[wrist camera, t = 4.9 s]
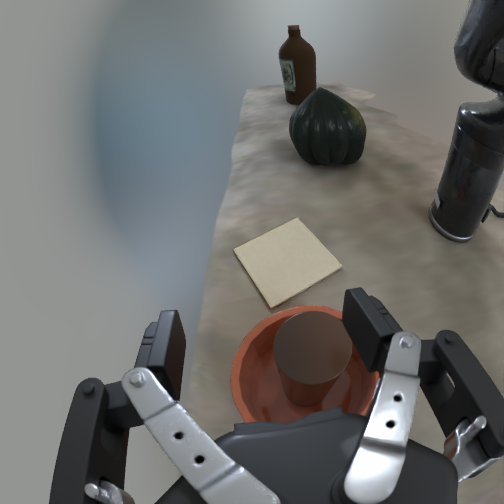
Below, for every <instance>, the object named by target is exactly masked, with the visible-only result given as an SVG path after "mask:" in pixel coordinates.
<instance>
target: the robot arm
mask: <svg viewBox="0 0 504 504" xmlns="http://www.w3.org/2000/svg"><path fill="white" fill-rule="evenodd" d="M454 56H455V61H456V65H457V67H458V69H459V71H460V72H461V74H462V75H463V76H464V77H466V78H467V79H468V80H470V81H472V82H473V83H475V84H478V85H480V86H482V87H484V88H487V89H489V90H491V91H493V92H495V93H497V94H498V95H497V97H496V98H495V99H493V100H491V101H488V102H481V103H472V102H471V103H469V102H467V103H463V104H461V106H460V107H459V110H458V114H457V119H456V124H455V129H454V133H453V137H452V142H451V146H450V149H449V153H448V157H447V160H446V164H445V167H444V171H443V174H442V177H441V180H440V183H439V186H438V189H437V190H436V189H435V192H434V201H433V203H432V205H431V207H430V211H429V215H430V219H431V222H432V223H433V225H434V226H435V228H436V229H437V230H438V231H439V232H440V233H441V234H442V235H444V236H445V237H447V238H449V239H451V240H453V241H457V242H467V241H469V240H471V239H472V237H473V236H474V234H475V232H476V229H477V227H478V225H479V223H480V222H482V223H483V222H484V221H485V220H486V219H487V217H488V215H489V213H490V211H491V210H492V212H493V213H494V214H495V215H496V216H498V217H504V213H500V212H497V211H496V209H495V208H494V206H493V205H491V204H490V202H491V199H492V197H493V195H494V193H495V191H496V188H497V186H498V184H499V181H500V179H501V176H502V174H503V171H504V0H469V2H468V5H467V7H466V9H465V12H464V14H463V16H462V19H461V21H460V24H459V27H458V30H457V33H456V38H455V44H454ZM342 321H343V325H344V328H345V329H346V331H347V333H348V335H349V337H350V339H351V340H352V342H353V344H354V346H355V348H356V350H357V352H358V353H359V355H360V357H361V359H362V361H363V363H364V365H365V367H366V369H367V370H368V372H369V374H370V373H373V372H377V371H378V373H379V377H378V380H377V383H376V386H375V389H374V392H373V395H372V398H371V401H370V404H369V407H368V409H367V412H366V414H365V416H364V415H360V414H355V413H344V411H343V409H342V406H340V407H336V408H332V409H327V410H323V411H319V412H315V413H313V414H311V415H309V416H306V417H304V418H302V419H299V420H297V421H294V422H292V423H280V422H265V421H259V422H250V423H239V424H234V426H235V431H233V432H230V433H227V434H225V435H223V436H221V437H219V438H218V439H216V440H215V441H213V440H212V439H211V438H210V437H209V436H208V435H207V434H206V433H205V432H204V431H203V429H202V428H201V427H200V426H199V425H198V424H197V423H196V422H195V421H194V420H193V419H192V417H191V416H190V415H189V414H188V413H187V412H186V411H185V410H184V408H183V407H182V406H181V405H180V404H179V403H178V402H177V401H178V400H180V391H181V383H182V374H183V365H184V357H185V349H186V339H185V334H184V330H183V327H182V323H181V320H180V317H179V313H178V311H177V310H169V311H168V310H167V311H161V313H160V316H159V320H158V322H152V323H151V324H150V325H149V326H148V327H147V328H146V330H145V333H144V336H143V339H142V343H141V346H140V349H139V353H138V356H137V359H136V363H135V366H134V368H133V369H131V370H129V371H128V372H126V373H125V374H124V376H123V378H122V381H119V382H116V383H111V384H106V385H104V384H103V383H102V382H101V380H99V379H97V378H88V379H86V380H84V381H82V382H81V383H80V384H79V385H78V386H77V388H76V391H75V394H74V397H73V400H72V403H71V407H70V410H69V413H68V417H67V420H66V424H65V427H64V431H63V435H62V439H61V442H60V446H59V451H58V456H57V460H56V465H55V469H54V475H53V481H52V486H51V493H50V500H49V504H135V503H134V500H133V498H132V497H131V496H130V495H129V494H128V493H127V492H125V491H124V480H125V467H126V456H127V446H128V438H129V429H130V428H131V427H136V426H140V425H144V424H145V426H146V427H147V429H148V430H149V432H150V433H151V434H152V436H153V437H154V439H155V440H156V441H157V443H158V444H159V446H160V447H161V448H162V450H163V451H164V452H165V454H166V455H167V456H168V458H169V459H170V460H171V461H172V463H173V464H174V465H175V466H176V468H177V469H178V470H179V471H180V473H181V474H182V476H181V477H180V478H179V479H178V480H177V481H176V482H175V483H174V484H173V485H172V486H171V487H170V488H169V490H168V491H167V492H166V493H165V494H164V495H163V496H162V497H161V498H160V499H159V500H158V501H157V502H156V503H154V504H457V489H458V483H459V482H461V481H463V480H464V479H466V478H472V477H475V476H476V475H478V474H479V473H481V472H482V471H484V470H485V469H486V468H488V467H489V466H490V465H492V464H493V463H494V462H496V461H497V460H498V459H499V458H501V457H502V456H503V455H504V398H503V396H502V395H501V393H500V392H499V390H498V389H497V387H496V386H495V384H494V383H493V381H492V380H491V378H490V377H489V375H488V374H487V372H486V371H485V370H484V368H483V367H482V365H481V364H480V363H479V361H478V360H477V358H476V357H475V356H474V354H473V353H472V352H471V350H470V349H469V348H468V346H467V345H466V344H465V342H464V341H463V340H462V339H461V337H460V336H459V335H458V334H457V333H455V332H453V331H450V330H442V331H440V332H439V333H438V334H437V336H436V338H435V340H420V338H419V337H418V336H417V335H416V334H414V333H412V332H409V331H403V330H402V328H401V327H400V326H399V324H398V323H397V322H396V321H395V319H394V318H393V317H392V315H391V314H389V311H388V310H387V309H386V308H385V306H384V305H383V304H382V303H381V301H380V300H378V299H377V298H375V297H373V296H372V295H371V296H368V295H367V294H366V292H365V291H364V290H363V289H362V288H361V287H359V288H354V289H348V290H346V291H345V297H344V305H343V312H342ZM447 372H448V374H449V375H450V377H451V378H452V380H453V382H454V385H455V388H454V386H453V385H452V383H451V381H450V380H449V378H448V376H447V375H446V374H447ZM419 385H420V387H421V389H422V391H423V392H424V394H425V396H426V398H427V400H428V402H429V404H430V406H431V408H432V410H433V412H434V414H435V416H436V418H437V420H438V422H439V424H440V426H441V428H442V430H443V433H444V435H445V437H446V440H445V443H444V453H443V454H441V453H438V452H436V451H434V450H432V449H430V448H428V447H425V446H423V445H421V444H419V443H417V442H415V441H413V440H411V439H409V438H408V437H409V433H410V429H411V425H412V421H413V417H414V412H415V407H416V402H417V397H418V391H419ZM175 401H176V402H175Z"/></svg>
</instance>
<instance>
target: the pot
mask: <svg viewBox="0 0 504 504" xmlns="http://www.w3.org/2000/svg"><path fill="white" fill-rule="evenodd" d="M305 311H322V312H326V313H329V314H331V315H333V316H335V317H336V318H338V319H339V320H340V321H341V322H342V323H343V321H342V311H338V310H335V309H332V308H329V307H326V306H298V307H294V308H290V309H286V310H282V311H279V312H277V313H275V314H274V315H272V316H270V317H268V318H266V319H265V320H263V321H261V322H260V323H259V324H258V325H257V326H256V327H255V328H254V329H253V330H252V331H251V332H250V333H249V334H248V335H247V336H246V337H245V338H244V340H243V342H242V344H241V345H240V347H239V349H238V351H237V353H236V355H235V357H234V361H233V366H232V372H231V377H230V382H231V388H232V395H233V401H234V403H235V405H236V407H237V409H238V411H239V412H240V414H241V416H242V418H243V420H244V421H245V423H250V422H259V421H265V422H280V423H292V422H294V421H297V420H299V419H302V418H304V417H306V416H309V415H311V414H313V413H315V412H319V411H323V410H327V409H332V408H336V407H340V406H342V409H343V411H344V413H355V414H360V415H364V416H365V414H366V412H367V409H368V407H369V404H370V401H371V398H372V395H373V392H374V389H375V386H376V383H377V380H378V377H379V373H378V371H377V372H373V373H370V374H369V372H368V370H367V369H366V367H365V365H364V363H363V361H362V359H361V357H360V355H359V353H358V352H357V350H356V348H355V346H354V344H353V342H352V353H351V357H350V360H349V362H348V364H347V366H346V367H345V369H344V370H343V372H342V373H341V375H340V376H339V378H338V379H337V381H336V382H335V384H334V385H333V387H332V388H331V389H330V391H329V392H328V393H327V395H326V396H325V398H324V399H323V400H322V401H321V402H319V403H318V404H316V405H313V406H309V407H302V406H298V405H296V404H294V403H292V402H291V401H290V400H289V399H288V398H287V396H286V394H285V391H284V388H283V384H282V381H281V378H280V375H279V372H278V368H277V365H276V362H275V359H274V354H273V343H274V338H275V336H276V333H277V331H278V330H279V328H280V327H281V325H282V324H283V323H284V322H285V321H287V320H288V319H289V318H291V317H292V316H294V315H296V314H298V313H301V312H305Z"/></svg>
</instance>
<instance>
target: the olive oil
mask: <svg viewBox="0 0 504 504" xmlns="http://www.w3.org/2000/svg"><path fill="white" fill-rule="evenodd" d="M288 34H289V38H288V39H287V40H286V41H285V43H284V44H283V45H282V46H281V47H280V50H279V60H280V65H281V71H282V76H283V81H284V88H285V94H286V100H287V101H288V102H289V103H292V104H301V103H302V102H303V101H304V100H305V99H306V98H307V97H308V96H309V95H310V94H311V93H312V92H313V91H314V90H316V55H315V52H314V49H313V47H312V46H311V45H310V44H309V43H307V42H306V41H305V40H304V39H303V38H302V37H301V35H300V29H299V25H289V26H288Z"/></svg>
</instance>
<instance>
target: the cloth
mask: <svg viewBox="0 0 504 504" xmlns="http://www.w3.org/2000/svg"><path fill="white" fill-rule="evenodd" d="M233 250H234V252H235V254H236V255H237V257H238V259H239V260H240V262H241V263H242V265H243V266H244V268H245V269H246V271H247V272H248V274H249V275H250V277H251V279H252V280H253V282H254V283H255V285H256V286H257V288H258V289H259V291H260V292H261V294H262V295H263V297H264V298H265V300H266V302H267V303H268V305H269V306H270V308H271V309H272V308H274V307H276V306H278V305H279V304H281V303H283V302H285V301H286V300H288V299H290V298H292V297H293V296H295V295H297V294H299V293H300V292H302V291H304V290H306V289H307V288H309V287H311V286H312V285H314V284H316V283H317V282H319V281H321V280H322V279H324V278H326V277H327V276H329V275H331V274H332V273H334V272H336V271H337V270H339V269H340V268H342V265H341V264H340V263H339V262H338V261H337V259H336V258H335V257H334V256H333V255H332V254H331V253H330V252H329V251H328V250H327V249H326V247H325V246H324V245H323V244H322V243H321V242H320V241H319V240H318V239H317V238H316V237H315V236H314V235H313V234H312V233H311V231H310V230H309V229H308V228H307V227H306V226H305V225H304V224H303V223H302V222H301V221H300V220H299V219H298V218H295V219H293V220H291V221H289V222H287V223H285V224H283V225H281V226H279V227H277V228H275V229H273V230H271V231H269V232H267V233H265V234H263V235H261V236H259V237H257V238H255V239H253V240H251V241H249V242H247V243H245V244H243V245H241V246H239V247H237V248H235V249H233Z"/></svg>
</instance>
